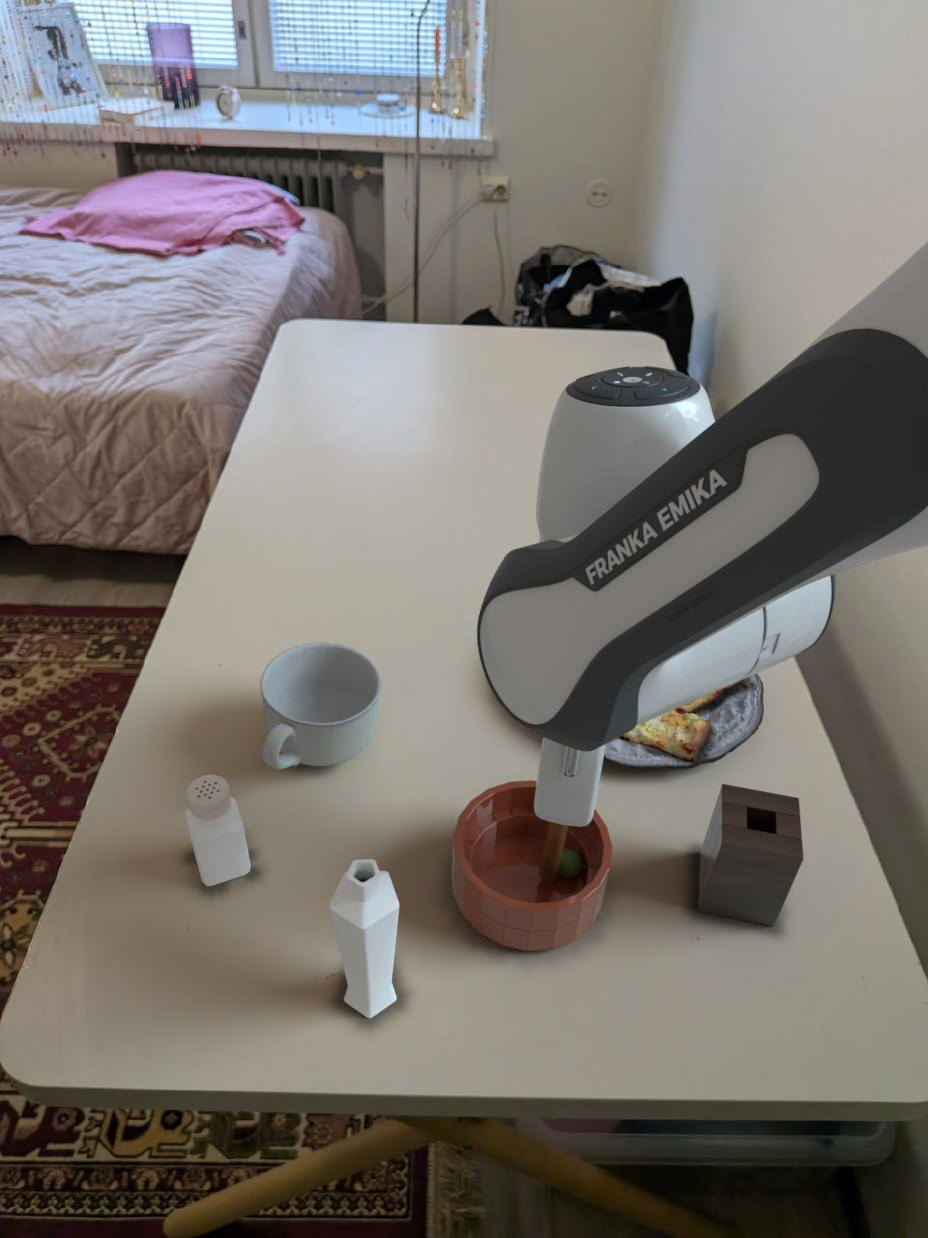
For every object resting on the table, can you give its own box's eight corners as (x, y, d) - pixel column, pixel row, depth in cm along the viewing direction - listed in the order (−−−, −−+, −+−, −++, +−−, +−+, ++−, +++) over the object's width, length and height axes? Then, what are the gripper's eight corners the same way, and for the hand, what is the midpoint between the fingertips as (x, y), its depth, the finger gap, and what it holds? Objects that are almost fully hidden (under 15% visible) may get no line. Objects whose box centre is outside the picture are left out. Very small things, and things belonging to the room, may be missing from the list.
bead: (564, 885, 75) (579, 883, 77) (578, 860, 74) (592, 859, 76) (543, 867, 76) (558, 866, 78) (556, 842, 76) (571, 842, 78)
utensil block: (773, 927, 74) (803, 859, 69) (698, 911, 75) (721, 843, 70) (771, 866, 79) (799, 797, 73) (700, 852, 80) (722, 783, 74)
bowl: (593, 970, 71) (603, 926, 67) (436, 935, 73) (437, 891, 69) (609, 841, 80) (618, 796, 77) (469, 813, 82) (472, 768, 78)
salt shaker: (194, 853, 78) (176, 778, 72) (241, 838, 79) (227, 764, 73) (204, 891, 75) (186, 817, 69) (253, 875, 76) (239, 800, 70)
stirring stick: (559, 889, 75) (594, 736, 63) (532, 883, 75) (562, 729, 64) (562, 867, 76) (597, 713, 65) (536, 861, 77) (566, 707, 65)
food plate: (799, 692, 96) (808, 667, 94) (679, 823, 82) (686, 797, 80) (602, 588, 108) (606, 564, 106) (469, 687, 95) (471, 661, 92)
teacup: (322, 685, 94) (317, 625, 89) (405, 733, 89) (405, 672, 84) (219, 767, 85) (206, 706, 80) (305, 825, 81) (298, 763, 75)
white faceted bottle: (331, 974, 70) (318, 853, 60) (387, 957, 71) (383, 836, 62) (346, 1030, 67) (335, 912, 57) (405, 1011, 68) (403, 892, 58)
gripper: (633, 741, 50) (601, 892, 59) (655, 535, 66) (627, 679, 74) (518, 720, 51) (503, 872, 60) (567, 522, 66) (549, 666, 75)
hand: (572, 763), depth 67 cm, fingers closed on stirring stick, 2 cm apart
